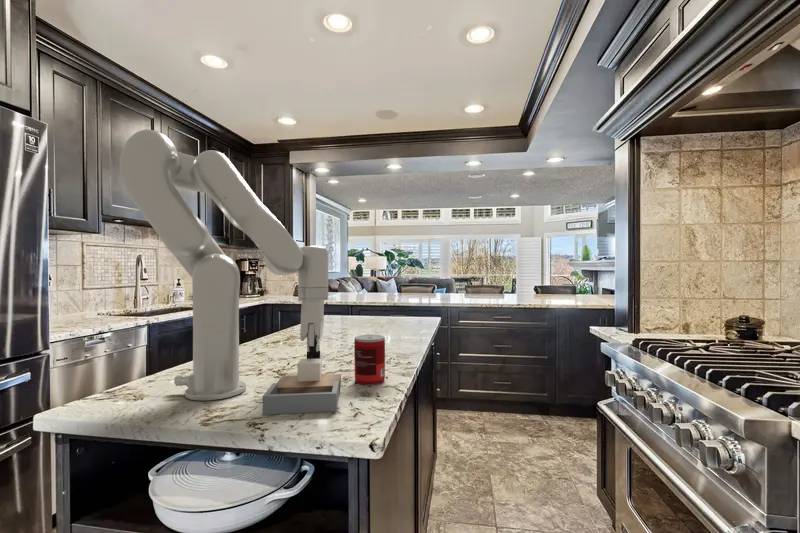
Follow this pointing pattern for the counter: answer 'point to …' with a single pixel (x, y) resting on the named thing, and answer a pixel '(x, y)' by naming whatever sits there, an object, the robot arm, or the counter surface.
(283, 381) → the board
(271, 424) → the counter surface
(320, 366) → the tile block
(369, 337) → the canned food
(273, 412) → the box
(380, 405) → the counter surface
